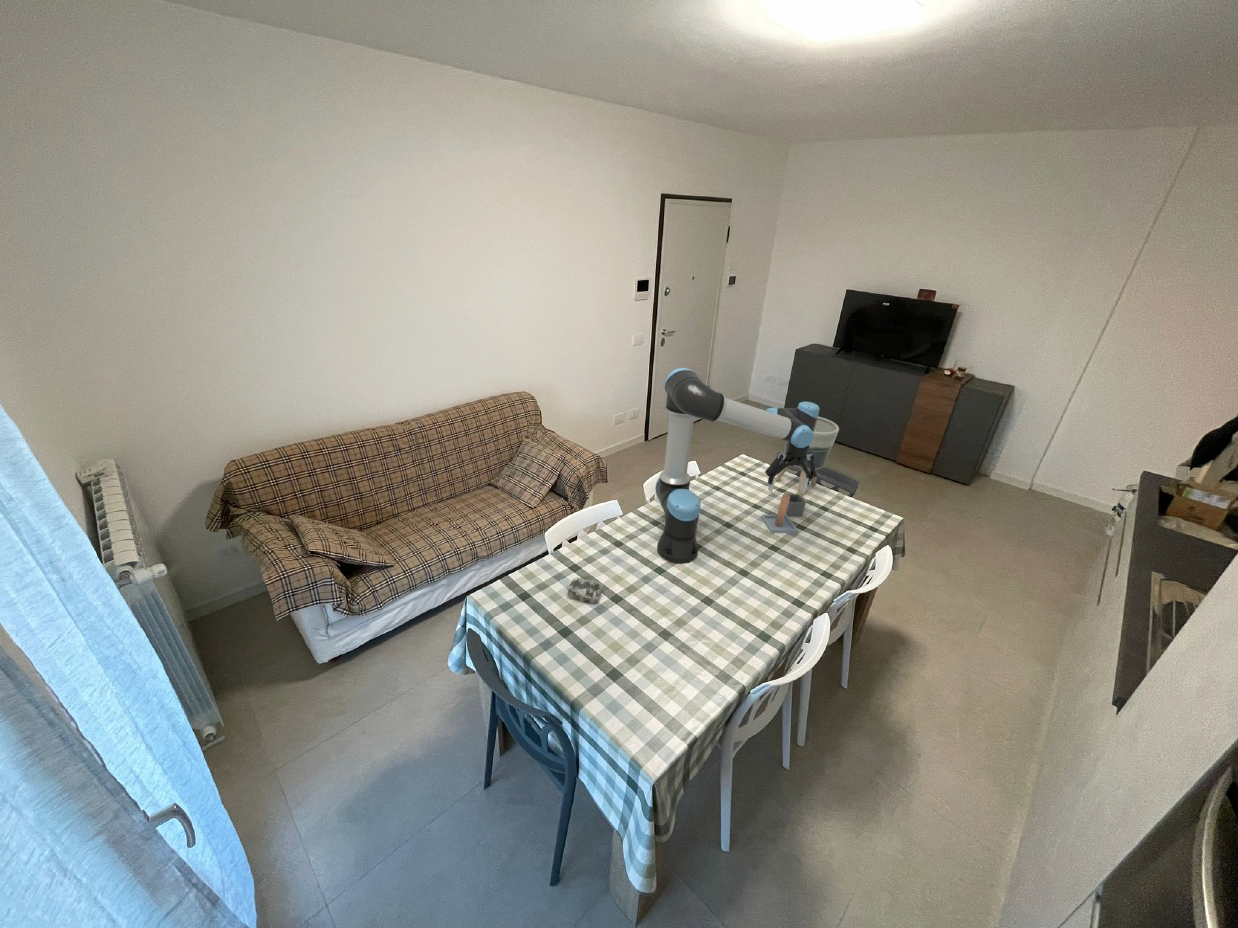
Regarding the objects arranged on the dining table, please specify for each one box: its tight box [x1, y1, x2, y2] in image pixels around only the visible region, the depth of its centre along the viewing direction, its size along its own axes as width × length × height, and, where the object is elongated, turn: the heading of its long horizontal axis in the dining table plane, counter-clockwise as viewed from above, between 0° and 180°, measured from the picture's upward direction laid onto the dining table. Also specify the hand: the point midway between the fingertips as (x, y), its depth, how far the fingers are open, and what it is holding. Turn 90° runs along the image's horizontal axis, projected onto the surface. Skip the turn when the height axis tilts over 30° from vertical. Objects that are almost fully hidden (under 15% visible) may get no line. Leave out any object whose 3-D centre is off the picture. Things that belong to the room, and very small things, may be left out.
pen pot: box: [785, 493, 806, 518], centre depth 211 cm, size 7×7×8 cm
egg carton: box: [566, 577, 603, 605], centre depth 160 cm, size 11×8×4 cm
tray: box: [760, 514, 799, 534], centre depth 203 cm, size 11×11×2 cm
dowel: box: [775, 493, 790, 527], centre depth 200 cm, size 3×3×14 cm
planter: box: [775, 416, 840, 499], centre depth 226 cm, size 22×22×33 cm
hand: (786, 491), depth 196 cm, fingers open, 13 cm apart
